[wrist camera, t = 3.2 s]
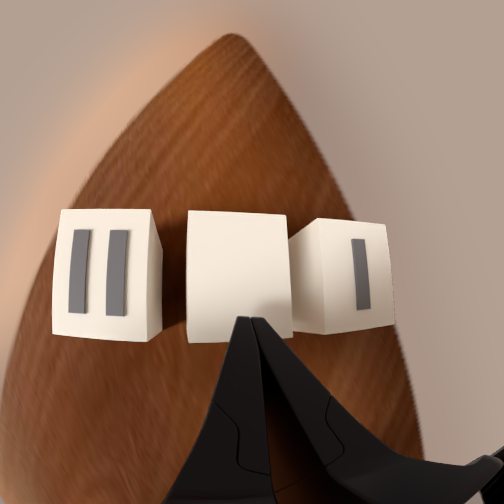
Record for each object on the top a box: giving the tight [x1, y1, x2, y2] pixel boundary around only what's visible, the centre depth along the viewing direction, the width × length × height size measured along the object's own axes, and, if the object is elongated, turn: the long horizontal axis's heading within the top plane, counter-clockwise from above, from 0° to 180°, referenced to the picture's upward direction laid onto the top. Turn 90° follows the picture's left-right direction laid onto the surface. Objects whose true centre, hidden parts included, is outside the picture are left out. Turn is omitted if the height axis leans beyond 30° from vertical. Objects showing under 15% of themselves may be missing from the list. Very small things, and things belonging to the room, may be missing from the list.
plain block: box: [186, 211, 293, 343], centre depth 14 cm, size 5×4×7 cm
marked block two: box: [52, 209, 163, 342], centre depth 12 cm, size 5×4×7 cm
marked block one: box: [288, 218, 395, 335], centre depth 15 cm, size 5×4×7 cm
